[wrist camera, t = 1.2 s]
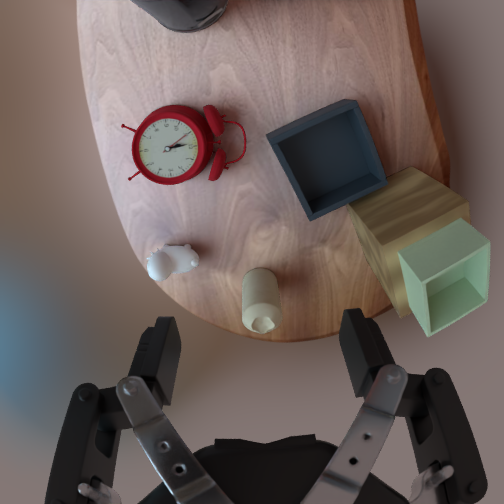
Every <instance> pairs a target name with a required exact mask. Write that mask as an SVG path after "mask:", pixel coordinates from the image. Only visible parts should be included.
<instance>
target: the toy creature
mask: <svg viewBox="0 0 504 504" xmlns="http://www.w3.org/2000/svg"><path fill="white" fill-rule="evenodd" d="M157 249H158V248H157ZM151 254H152V256H151V257H149V258H146V259H149V261H148V264H147V267H148V273H149V276H150V277H151V278H152V279H154V280H156V281H163V280H165V279H167V278H168V277H169V276H170V275H171V273H185V272H189V271H191V270H193V269H194V268H196V266H199V256H198V254H197V253H196V252H195V251H194V250H192V249H191V245H189V244H186V245H185V246H176V245H174V246H169V245H168V244H165V245H164V246H163V248H162V249H160V250H159V249H158V251H157V252H155V253H153V252H151Z"/></svg>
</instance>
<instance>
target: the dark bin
mask: <svg viewBox="0 0 504 504" xmlns="http://www.w3.org/2000/svg"><path fill="white" fill-rule="evenodd" d="M266 137H267V139H268V141H269V143H270V145H271V147H272V149H273V151H274V152H275V154H276V156H277V158H278V160H279V162H280V164H281V166H282V167H283V169H284V171H285V173H286V175H287V177H288V179H289V181H290V183H291V185H292V187H293V189H294V191H295V193H296V195H297V197H298V199H299V201H300V203H301V205H302V207H303V209H304V211H305V213H306V215H307V217H308V219H309V221H312V220H314V219H317V218H319V217H321V216H323V215H325V214H327V213H329V212H331V211H333V210H335V209H338V208H340V207H342V206H344V205H346V204H348V203H350V202H352V201H354V200H356V199H359V198H361V197H363V196H365V195H367V194H369V193H371V192H373V191H375V190H377V189H380V188H382V187H384V186H386V185H388V181H387V179H386V175H385V172H384V169H383V166H382V164H381V161H380V158H379V155H378V152H377V150H376V147H375V144H374V142H373V139H372V136H371V134H370V131H369V129H368V126H367V124H366V121H365V119H364V117H363V114H362V112H361V110H360V107H359V105H358V103H357V101H356V100H347V99H343V100H341V101H338V102H336V103H334V104H331V105H329V106H327V107H324V108H322V109H320V110H317V111H315V112H313V113H311V114H308V115H306V116H304V117H302V118H300V119H298V120H295V121H293V122H291V123H289V124H287V125H285V126H283V127H281V128H279V129H277V130H275V131H273V132H271V133H269V134H267V135H266Z"/></svg>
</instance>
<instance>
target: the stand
mask: <svg viewBox="0 0 504 504" xmlns="http://www.w3.org/2000/svg"><path fill="white" fill-rule="evenodd" d="M386 179H387V181H388V185H386V186H384V187H382V188H380V189H377V190H375V191H373V192H371V193H369V194H367V195H365V196H363V197H361V198H359V199H356V200H354V201H352V202H350V203H348V204H346V206H347V209H348V211H349V214H350V217H351V219H352V222H353V224H354V227H355V230H356V232H357V235H358V238H359V240H360V243H361V246H362V249H363V252H364V255H365V257H366V260H367V262H368V264H369V265H370V267H371V269H372V270H373V272H374V274H375V275H376V277H377V278H378V280H379V282H380V284H381V285H382V287H383V289H384V290H385V292H386V294H387V295H388V297H389V299H390V301H391V302H392V304H393V306H394V308H395V310H396V311H397V313H398V315H399V316H400V318H402V317H404V316H406V315H408V314H410V313H412V310H411V308H410V307H409V302H408V297H407V292H406V287H405V282H404V277H403V273H402V269H401V264H400V260H399V256H398V251H399V250H401V249H403V248H405V247H407V246H409V245H411V244H413V243H415V242H417V241H419V240H421V239H423V238H424V237H426V236H428V235H430V234H432V233H434V232H436V231H438V230H439V229H441V228H443V227H445V226H447V225H449V224H450V223H452V222H454V221H456V220H458V219H459V218H462V219H463V220H465V221H466V222H467V223H469V224H470V225H471V220H470V210H469V203H468V202H469V201H468V200H466V199H465V198H463V197H462V196H460V195H459V194H457V193H455V192H454V191H452V190H451V189H449V188H448V187H446V186H445V185H443V184H441V183H440V182H438V181H436V180H435V179H433V178H431V177H430V176H428V175H426V174H425V173H423V172H421V171H419V170H418V169H416V168H414V167H412V166H410V167H408V168H406V169H404V170H402V171H400V172H398V173H396V174H393V175H391V176H389V177H387V178H386Z"/></svg>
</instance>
